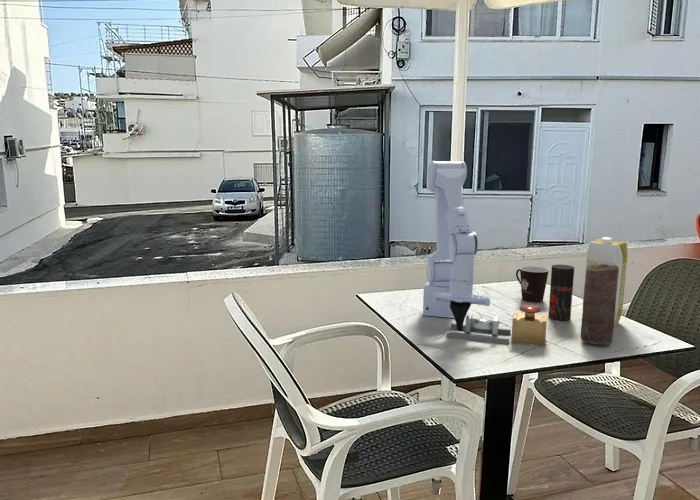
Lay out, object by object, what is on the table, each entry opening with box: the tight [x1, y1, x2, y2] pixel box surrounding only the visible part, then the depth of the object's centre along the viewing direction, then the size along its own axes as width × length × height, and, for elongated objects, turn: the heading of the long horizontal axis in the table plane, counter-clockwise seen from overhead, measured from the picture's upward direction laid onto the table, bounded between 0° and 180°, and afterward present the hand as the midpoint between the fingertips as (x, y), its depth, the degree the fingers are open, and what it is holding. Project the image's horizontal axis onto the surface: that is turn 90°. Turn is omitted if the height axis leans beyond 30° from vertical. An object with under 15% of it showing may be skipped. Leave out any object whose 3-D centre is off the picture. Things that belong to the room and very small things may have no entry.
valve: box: [510, 304, 548, 347], centre depth 142 cm, size 8×6×9 cm
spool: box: [464, 312, 500, 337], centre depth 146 cm, size 8×5×5 cm, turn 72°
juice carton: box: [582, 236, 628, 326], centre depth 155 cm, size 9×8×24 cm
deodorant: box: [547, 264, 575, 322], centre depth 160 cm, size 6×6×15 cm
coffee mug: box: [515, 265, 550, 304], centre depth 180 cm, size 12×9×10 cm
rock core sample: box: [580, 264, 619, 346], centre depth 139 cm, size 8×7×20 cm
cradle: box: [446, 322, 512, 345], centre depth 147 cm, size 16×8×1 cm, turn 72°
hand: (459, 329), depth 148 cm, fingers closed
